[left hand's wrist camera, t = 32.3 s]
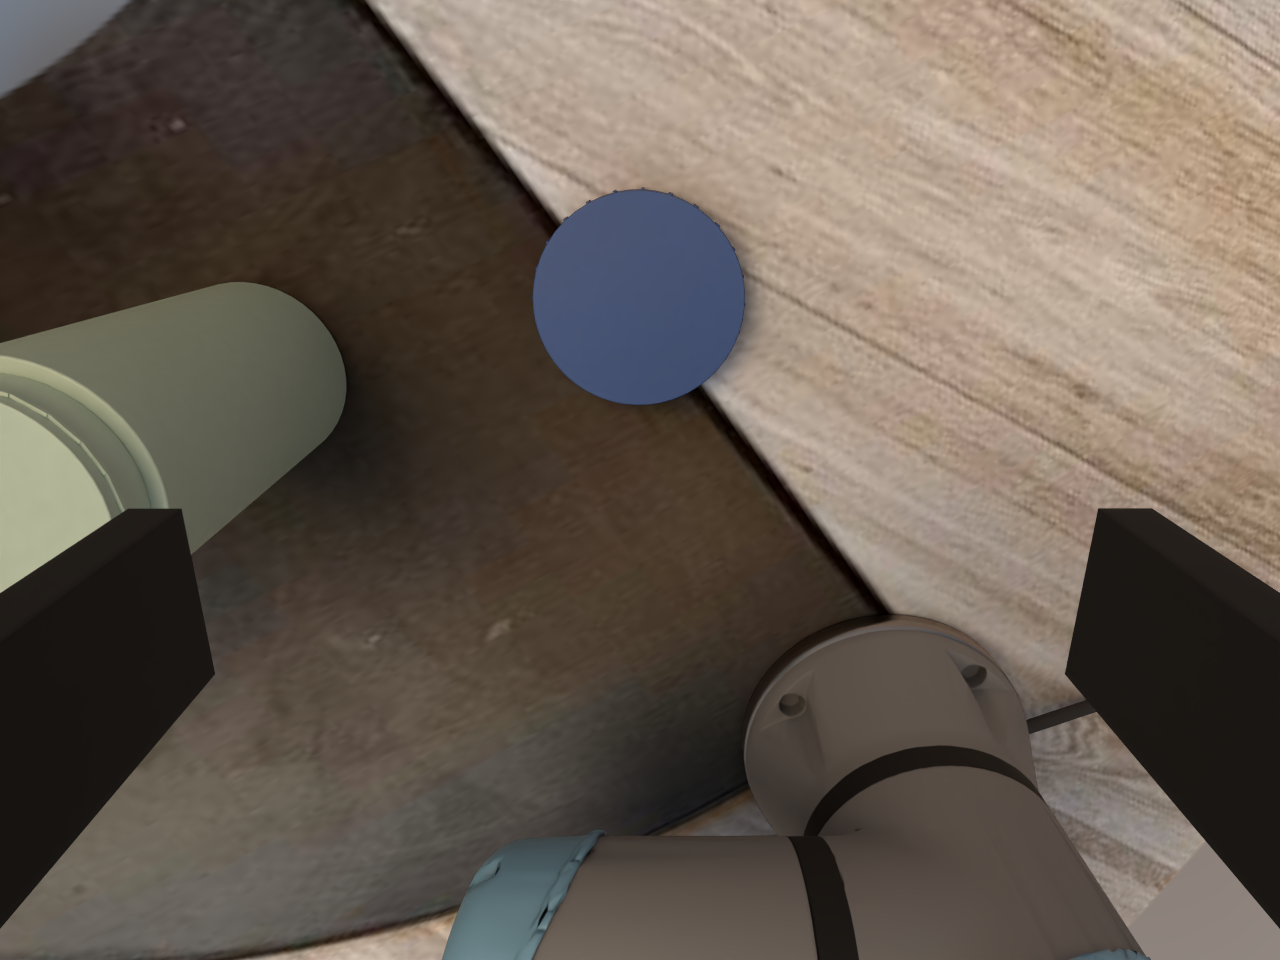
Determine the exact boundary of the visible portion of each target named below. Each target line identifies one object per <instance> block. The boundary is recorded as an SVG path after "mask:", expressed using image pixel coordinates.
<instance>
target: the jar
mask: <svg viewBox="0 0 1280 960" xmlns="http://www.w3.org/2000/svg"><path fill="white" fill-rule="evenodd" d="M345 398H346V375H345V368H344V364H343V360H342V357H341V354H340V352H339V349H338V347H337V345H336V343H335V341H334V339H333V337H332V336H331V334H330V332H329V331H328V330H327V328H326V327H325V326H324V324H323V323H322V322H321V321H320V320H319V319H318V317H317V316H316V315H315V314H314V313H313V312H312V311H310V310H309V309H308V308H307V307H306V306H305V305H303V304H302V303H300V302H299V301H297V300H296V299H294V298H293V297H291V296H289V295H287V294H285V293H283V292H281V291H279V290H276V289H274V288H271V287H268V286H264V285H260V284H256V283H247V282H230V283H224V284H218V285H214V286H211V287H207V288H203V289H200V290H196V291H192V292H188V293H185V294H181V295H177V296H174V297H170V298H166V299H163V300H159V301H155V302H151V303H148V304H144V305H140V306H137V307H133V308H129V309H126V310H122V311H118V312H114V313H111V314H107V315H103V316H100V317H96V318H92V319H89V320H85V321H81V322H77V323H74V324H70V325H66V326H63V327H59V328H55V329H52V330H48V331H44V332H40V333H37V334H33V335H29V336H26V337H22V338H18V339H15V340H11V341H7V342H3V343H0V593H1V592H2V591H4V590H6V589H7V588H9V587H10V586H12V585H13V584H15V583H16V582H18V581H19V580H21V579H22V578H24V577H25V576H27V575H28V574H30V573H31V572H33V571H34V570H36V569H37V568H39V567H40V566H42V565H43V564H45V563H46V562H48V561H49V560H51V559H52V558H54V557H55V556H57V555H59V554H60V553H62V552H63V551H65V550H66V549H68V548H69V547H71V546H72V545H74V544H75V543H77V542H78V541H80V540H81V539H83V538H84V537H86V536H87V535H89V534H90V533H92V532H93V531H95V530H96V529H98V528H99V527H101V526H102V525H104V524H105V523H107V522H108V521H110V520H112V519H113V518H115V517H116V516H118V515H119V514H121V513H122V512H124V511H125V510H127V509H182V513H183V518H184V523H185V528H186V533H187V538H188V543H189V547H190V552H191V554H192V553H193V552H195V551H196V550H197V549H198V548H199V547H200V546H202V545H203V544H204V543H205V542H206V541H207V540H209V539H210V538H211V537H212V536H213V535H214V534H216V533H217V532H218V531H219V530H220V529H221V528H223V527H224V526H225V525H226V524H227V523H229V522H230V521H231V520H232V519H233V518H234V517H236V516H237V515H238V514H239V513H240V512H241V511H243V510H244V509H245V508H246V507H247V506H248V505H250V504H251V503H252V502H253V501H254V500H255V499H257V498H258V497H259V496H260V495H261V494H262V493H264V492H265V491H266V490H267V489H268V488H269V487H271V486H272V485H273V484H274V483H275V482H276V481H278V480H279V479H280V478H281V477H282V476H283V475H285V474H286V473H287V472H288V471H289V470H290V469H292V468H293V467H294V466H295V465H296V464H297V463H299V462H300V461H301V460H302V459H303V458H304V457H306V456H307V455H308V454H309V453H310V452H311V451H313V450H314V449H315V448H316V447H317V446H318V445H320V444H321V443H322V442H323V441H324V440H325V439H326V438H327V437H328V436H329V435H330V433H331V432H332V431H333V429H334V428H335V426H336V425H337V423H338V421H339V419H340V416H341V414H342V411H343V407H344V404H345Z"/></svg>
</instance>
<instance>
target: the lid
mask: <svg viewBox="0 0 1280 960" xmlns="http://www.w3.org/2000/svg"><path fill="white" fill-rule="evenodd" d="M586 203H587V204H586V205H585V206H583V207H582V208H580V209H579V210H577V211H575V212H574V213H573V214H572V215H571V216H570V217H566V218H565V219H564V222H563V223H562V224H561V226H560V227H559V228H558V229H557V230H556V231H555V233H554V234H553V236H552V237H551V238H550V239H549V240H548V241H547V242H546V244H547V245H546V247H545V249H544V251H543V253H542V255H541V257H540V260H539V263H538V266H537V267H536V269H535V270H536V274H535V279H534V286H533V295H532V298H533V309H534V316H535V321H536V326H537V329H538V332H539V335H540V338H541V340H542V342H543V344H544V346H545V348H546V350H547V352H548V354H549V355H550V357H551V358H552V360H553V361H554V363H555V364H556V365H557V366H558V367H559V369H560V370H561V371H562V372H563V373H564V374H565V375H566V376H567V377H568V378H569V379H571V380H572V381H573V382H574V383H575V384H577V385H578V386H580V387H581V388H583V389H584V390H586V391H588V392H590V393H592V394H594V395H595V396H598V397H600V398H603V399H606V400H609V401H613V402H617V403H621V404H631V405H649V404H655V403H662V402H665V401H668V400H672V399H675V398H677V397H680V396H682V395H684V394H687V393H688V392H690V391H692V390H693V389H695V388H697V387H698V386H700V385H701V384H702V383H703V382H705V381H706V380H707V379H709V378H710V377H711V376H712V375H713V374H714V373H715V372H716V371H717V370H718V368H719V367H720V366H721V365H722V363H723V362H724V361H725V359H726V358H727V356H728V355H729V353H730V351H731V349H732V348H733V346H734V344H735V341H736V339H737V337H738V334H739V332H740V327H741V324H742V320H743V313H744V307H745V290H744V281H743V278H744V276H743V274H742V272H741V268H740V264H739V261H738V259H737V256H736V254H735V248H733V247H732V246H731V244H730V242H729V241H728V239H727V237H726V236H725V235H724V233H723V232H722V231H721V229H720V228H719V227H720V225H719V224H717V223H716V222H715V223H714V222H713V221H712V220H711V219H710V218H709V217H708V216H707V215H706V214H704V213H703V212H702V211H700V210H699V209H698V206H697V205H695V204H694V206H693V205H691V204H690V203H688V202H686V201H685V200H683V199H680V198H678V197H675V196H673V194H672V193H671V192H669V194H667V193H663V192H659V191H653V190H644V187H642V189H637V190H625V191H619V192H617V191H616V190H614V191H613V193H611V194H608V195H604V196H602V197H600V198H597V199H595V200H593V201H590V200H589V201H587V202H586Z"/></svg>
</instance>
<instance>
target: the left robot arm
mask: <svg viewBox="0 0 1280 960" xmlns="http://www.w3.org/2000/svg"><path fill="white" fill-rule="evenodd" d="M214 675H215V672H214V667H213V662H212V657H211V652H210V647H209V642H208V637H207V632H206V627H205V622H204V617H203V612H202V607H201V602H200V597H199V592H198V587H197V582H196V577H195V572H194V567H193V562H192V557H191V552H190V547H189V543H188V538H187V533H186V528H185V523H184V518H183V513H182V509H127V510H125V511H124V512H122V513H121V514H119V515H118V516H116V517H115V518H113V519H112V520H110V521H108V522H107V523H105V524H104V525H102V526H101V527H99V528H98V529H96V530H95V531H93V532H92V533H90V534H89V535H87V536H86V537H84V538H83V539H81V540H80V541H78V542H77V543H75V544H74V545H72V546H71V547H69V548H68V549H66V550H65V551H63V552H62V553H60V554H59V555H57V556H55V557H54V558H52V559H51V560H49V561H48V562H46V563H45V564H43V565H42V566H40V567H39V568H37V569H36V570H34V571H33V572H31V573H30V574H28V575H27V576H25V577H24V578H22V579H21V580H19V581H18V582H16V583H15V584H13V585H12V586H10V587H9V588H7V589H6V590H4V591H2V592H1V593H0V928H1V927H2V926H3V925H4V924H5V922H6V921H7V920H8V919H9V918H10V916H11V915H12V914H13V913H14V912H15V910H16V909H17V908H18V907H19V906H20V905H21V903H22V902H23V901H24V900H25V899H26V897H27V896H28V895H29V894H30V893H31V892H32V890H33V889H34V888H35V887H36V886H37V884H38V883H39V882H40V881H41V880H42V878H43V877H44V876H45V875H46V874H47V873H48V871H49V870H50V869H51V868H52V867H53V865H54V864H55V863H56V862H57V861H58V860H59V858H60V857H61V856H62V855H63V854H64V852H65V851H66V850H67V849H68V848H69V846H70V845H71V844H72V843H73V842H74V841H75V839H76V838H77V837H78V836H79V835H80V833H81V832H82V831H83V830H84V829H85V828H86V826H87V825H88V824H89V823H90V822H91V820H92V819H93V818H94V817H95V816H96V815H97V813H98V812H99V811H100V810H101V809H102V807H103V806H104V805H105V804H106V803H107V801H108V800H109V799H110V798H111V797H112V796H113V794H114V793H115V792H116V791H117V790H118V788H119V787H120V786H121V785H122V784H123V783H124V781H125V780H126V779H127V778H128V777H129V775H130V774H131V773H132V772H133V771H134V769H135V768H136V767H137V766H138V765H139V764H140V762H141V761H142V760H143V759H144V758H145V756H146V755H147V754H148V753H149V752H150V751H151V749H152V748H153V747H154V746H155V745H156V743H157V742H158V741H159V740H160V739H161V737H162V736H163V735H164V734H165V733H166V732H167V730H168V729H169V728H170V727H171V726H172V724H173V723H174V722H175V721H176V720H177V719H178V717H179V716H180V715H181V714H182V713H183V711H184V710H185V709H186V708H187V707H188V705H189V704H190V703H191V702H192V701H193V700H194V698H195V697H196V696H197V695H198V694H199V692H200V691H201V690H202V689H203V688H204V687H205V685H206V684H207V683H208V682H209V681H210V679H211V678H212V677H213V676H214ZM1065 675H1066V676H1067V677H1068V678H1069V679H1070V681H1071V682H1072V683H1073V684H1074V685H1075V687H1076V688H1077V689H1078V690H1079V691H1080V692H1081V694H1082V695H1083V696H1084V697H1085V698H1086V700H1085V701H1082V702H1079V703H1076V704H1073V705H1070V706H1067V707H1064V708H1061V709H1058V710H1055V711H1052V712H1049V713H1046V714H1043V715H1040V716H1037V717H1034V718H1031V719H1028V720H1026V718H1025V714H1024V711H1023V709H1022V706H1021V703H1020V700H1019V698H1018V695H1017V693H1016V691H1015V689H1014V687H1013V686H1012V684H1011V683H1010V681H1009V680H1008V678H1007V677H1006V675H1005V674H1004V672H1003V671H1002V670H1001V668H1000V667H999V666H998V664H997V663H996V661H995V660H994V659H993V658H992V657H991V656H990V654H989V653H988V652H987V651H986V650H985V649H984V648H982V647H981V646H980V645H979V644H978V643H977V642H975V641H974V640H973V639H971V638H970V637H968V636H967V635H965V634H963V633H961V632H960V631H958V630H956V629H954V628H951V627H949V626H947V625H944V624H941V623H939V622H936V621H932V620H928V619H924V618H919V617H912V616H902V615H879V616H870V617H863V618H858V619H853V620H849V621H846V622H842V623H839V624H836V625H833V626H831V627H828V628H826V629H823V630H821V631H819V632H817V633H815V634H813V635H811V636H809V637H808V638H806V639H804V640H803V641H801V642H799V643H798V644H797V645H795V646H794V647H793V648H791V649H790V650H788V651H787V652H786V653H785V654H784V655H783V656H782V657H781V658H779V659H778V660H777V661H776V662H775V664H774V665H773V666H772V667H771V668H770V669H769V670H768V671H767V673H766V674H765V675H764V677H763V678H762V679H761V681H760V682H759V684H758V686H757V687H756V689H755V691H754V693H753V695H752V697H751V699H750V701H749V704H748V707H747V709H746V713H745V717H744V721H743V727H742V752H743V759H744V764H745V770H746V775H747V779H748V783H749V786H750V789H751V791H752V794H753V796H754V798H755V800H756V802H757V804H758V806H759V808H760V810H761V812H762V814H763V815H764V817H765V818H766V820H767V821H768V823H769V824H770V825H771V827H772V828H773V830H774V831H775V832H776V834H777V835H773V836H611V835H608V834H607V832H606V830H593V831H591V832H589V833H588V834H587V835H583V836H566V837H549V838H531V839H521V840H516V841H513V842H510V843H508V844H506V845H504V846H502V847H501V848H499V849H498V850H497V851H496V852H494V853H493V854H492V855H491V856H490V857H489V858H488V859H487V860H486V861H485V862H484V864H483V865H482V866H481V868H480V869H479V871H478V872H477V873H476V875H475V877H474V879H473V881H472V882H471V884H470V886H469V888H468V891H467V893H466V895H465V897H464V899H463V901H462V904H461V906H460V908H459V911H458V913H457V916H456V919H455V921H454V924H453V927H452V930H451V932H450V935H449V938H448V941H447V945H446V948H445V951H444V954H443V958H442V960H1151V959H1150V957H1146V956H1145V954H1144V952H1143V951H1142V949H1141V948H1140V946H1139V945H1138V943H1137V942H1136V940H1135V939H1134V937H1133V936H1132V934H1131V932H1130V931H1129V929H1128V928H1127V926H1126V925H1125V923H1124V922H1123V920H1122V919H1121V917H1120V916H1119V914H1118V912H1117V911H1116V909H1115V908H1114V906H1113V905H1112V903H1111V902H1110V900H1109V899H1108V897H1107V896H1106V894H1105V893H1104V891H1103V889H1102V888H1101V886H1100V885H1099V883H1098V882H1097V880H1096V879H1095V877H1094V876H1093V874H1092V873H1091V871H1090V870H1089V868H1088V866H1087V865H1086V863H1085V862H1084V860H1083V859H1082V857H1081V856H1080V854H1079V853H1078V851H1077V850H1076V848H1075V847H1074V845H1073V843H1072V842H1071V840H1070V839H1069V837H1068V836H1067V834H1066V833H1065V831H1064V830H1063V828H1062V827H1061V825H1060V823H1059V822H1058V820H1057V819H1056V817H1055V816H1054V814H1053V813H1052V811H1051V810H1050V809H1049V807H1048V806H1047V804H1046V802H1045V801H1044V799H1043V798H1042V796H1041V795H1040V793H1039V791H1038V787H1037V781H1036V775H1035V769H1034V763H1033V757H1032V750H1031V744H1030V738H1029V734H1031V733H1034V732H1037V731H1040V730H1043V729H1046V728H1049V727H1052V726H1055V725H1058V724H1061V723H1064V722H1067V721H1070V720H1073V719H1076V718H1079V717H1082V716H1085V715H1088V714H1091V713H1094V712H1097V713H1098V714H1099V715H1100V716H1101V717H1102V719H1103V720H1104V721H1105V722H1106V723H1107V724H1108V726H1109V727H1110V728H1111V729H1112V730H1113V732H1114V733H1115V734H1116V735H1117V736H1118V737H1119V739H1120V740H1121V741H1122V742H1123V743H1124V745H1125V746H1126V747H1127V748H1128V749H1129V751H1130V752H1131V753H1132V754H1133V755H1134V756H1135V758H1136V759H1137V760H1138V761H1139V762H1140V764H1141V765H1142V766H1143V767H1144V768H1145V769H1146V771H1147V772H1148V773H1149V774H1150V775H1151V777H1152V778H1153V779H1154V780H1155V781H1156V783H1157V784H1158V785H1159V786H1160V787H1161V788H1162V790H1163V791H1164V792H1165V793H1166V794H1167V796H1168V797H1169V798H1170V799H1171V800H1172V801H1173V803H1174V804H1175V805H1176V806H1177V807H1178V809H1179V810H1180V811H1181V812H1182V813H1183V815H1184V816H1185V817H1186V818H1187V819H1188V820H1189V822H1190V823H1191V824H1192V825H1193V826H1194V828H1195V829H1196V830H1197V831H1198V832H1199V833H1200V835H1201V836H1202V837H1203V838H1204V839H1205V841H1206V842H1207V843H1208V844H1209V845H1210V846H1211V848H1212V849H1213V850H1214V851H1215V852H1216V854H1217V855H1218V856H1219V857H1220V858H1221V860H1222V861H1223V862H1224V863H1225V864H1226V865H1227V867H1228V868H1229V869H1230V870H1231V871H1232V872H1233V874H1234V875H1235V876H1236V877H1237V878H1238V880H1239V881H1240V882H1241V883H1242V884H1243V886H1244V887H1245V888H1246V889H1247V890H1248V892H1249V893H1250V894H1251V895H1252V896H1253V897H1254V899H1255V900H1256V901H1257V902H1258V903H1259V905H1260V906H1261V907H1262V908H1263V909H1264V910H1265V912H1266V913H1267V914H1268V915H1269V916H1270V918H1271V919H1272V920H1273V921H1274V922H1275V924H1276V925H1277V926H1278V927H1279V928H1280V593H1279V592H1278V591H1276V590H1274V589H1273V588H1271V587H1270V586H1268V585H1267V584H1265V583H1264V582H1262V581H1261V580H1259V579H1258V578H1256V577H1255V576H1253V575H1252V574H1250V573H1249V572H1247V571H1246V570H1244V569H1243V568H1241V567H1240V566H1238V565H1237V564H1235V563H1234V562H1232V561H1231V560H1229V559H1228V558H1226V557H1225V556H1223V555H1221V554H1220V553H1218V552H1217V551H1215V550H1214V549H1212V548H1211V547H1209V546H1208V545H1206V544H1205V543H1203V542H1202V541H1200V540H1199V539H1197V538H1196V537H1194V536H1193V535H1191V534H1190V533H1188V532H1187V531H1185V530H1184V529H1182V528H1181V527H1179V526H1178V525H1176V524H1175V523H1173V522H1172V521H1170V520H1168V519H1167V518H1165V517H1164V516H1162V515H1161V514H1159V513H1158V512H1156V511H1155V510H1153V509H1098V513H1097V518H1096V523H1095V528H1094V533H1093V538H1092V543H1091V547H1090V552H1089V557H1088V562H1087V567H1086V572H1085V577H1084V582H1083V587H1082V592H1081V597H1080V602H1079V607H1078V612H1077V617H1076V622H1075V627H1074V632H1073V637H1072V642H1071V647H1070V652H1069V657H1068V662H1067V667H1066V672H1065Z"/></svg>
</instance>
